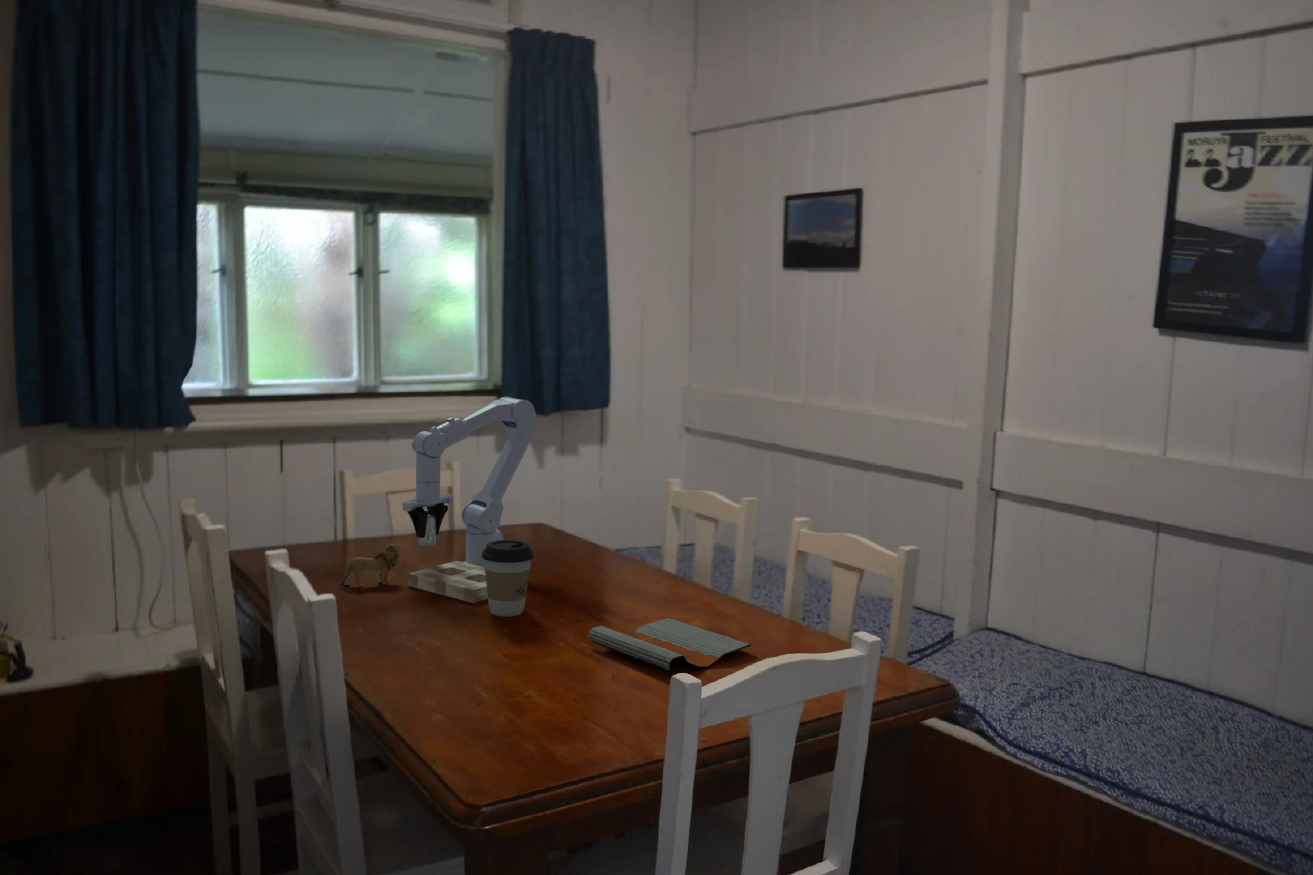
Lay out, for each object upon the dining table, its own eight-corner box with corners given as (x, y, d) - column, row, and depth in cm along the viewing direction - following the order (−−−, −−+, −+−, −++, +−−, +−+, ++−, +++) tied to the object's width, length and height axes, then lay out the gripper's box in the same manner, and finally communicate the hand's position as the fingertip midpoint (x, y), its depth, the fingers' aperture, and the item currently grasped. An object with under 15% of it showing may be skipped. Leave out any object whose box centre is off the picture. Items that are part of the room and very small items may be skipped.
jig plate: (456, 572, 249) (456, 560, 248) (521, 588, 237) (521, 575, 237) (407, 585, 235) (408, 573, 235) (474, 603, 224) (474, 590, 224)
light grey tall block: (427, 540, 249) (427, 513, 248) (439, 543, 247) (439, 515, 246) (415, 543, 245) (415, 515, 245) (426, 546, 243) (427, 518, 242)
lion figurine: (394, 577, 242) (395, 540, 241) (404, 582, 238) (404, 545, 237) (335, 585, 233) (335, 547, 232) (344, 591, 229) (344, 552, 228)
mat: (753, 656, 199) (754, 633, 198) (668, 684, 182) (669, 659, 182) (671, 626, 215) (672, 605, 214) (586, 649, 199) (587, 626, 198)
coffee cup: (522, 622, 212) (524, 552, 210) (471, 616, 214) (473, 548, 213) (539, 606, 223) (541, 541, 221) (491, 601, 226) (492, 536, 224)
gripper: (438, 475, 252) (437, 528, 254) (393, 482, 240) (393, 538, 242) (458, 479, 248) (457, 532, 250) (414, 486, 236) (413, 542, 238)
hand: (427, 535), depth 246 cm, fingers closed on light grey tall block, 4 cm apart
